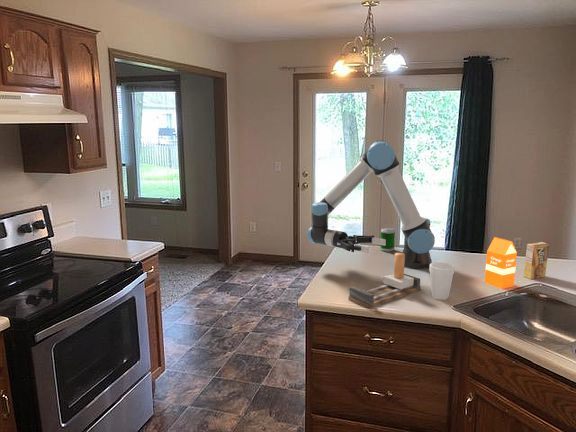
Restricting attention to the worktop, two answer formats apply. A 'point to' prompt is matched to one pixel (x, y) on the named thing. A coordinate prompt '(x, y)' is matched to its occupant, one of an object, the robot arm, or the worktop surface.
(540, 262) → the candy box
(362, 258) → the worktop surface
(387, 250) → the soda can
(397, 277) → the carriage
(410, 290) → the rail
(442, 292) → the foam cup
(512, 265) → the orange juice
